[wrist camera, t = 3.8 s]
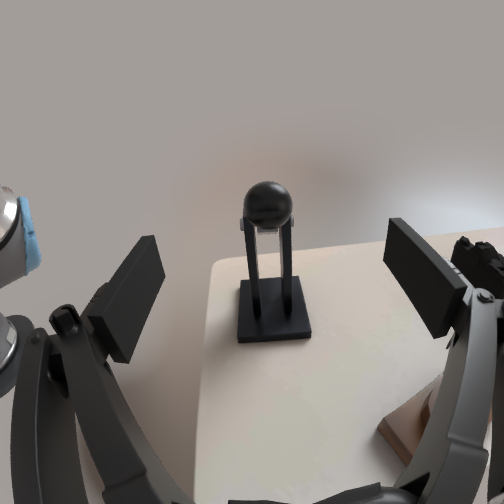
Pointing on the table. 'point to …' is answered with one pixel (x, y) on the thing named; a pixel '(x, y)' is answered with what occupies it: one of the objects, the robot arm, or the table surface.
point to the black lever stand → (271, 295)
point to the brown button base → (411, 421)
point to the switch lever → (267, 207)
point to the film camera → (480, 265)
